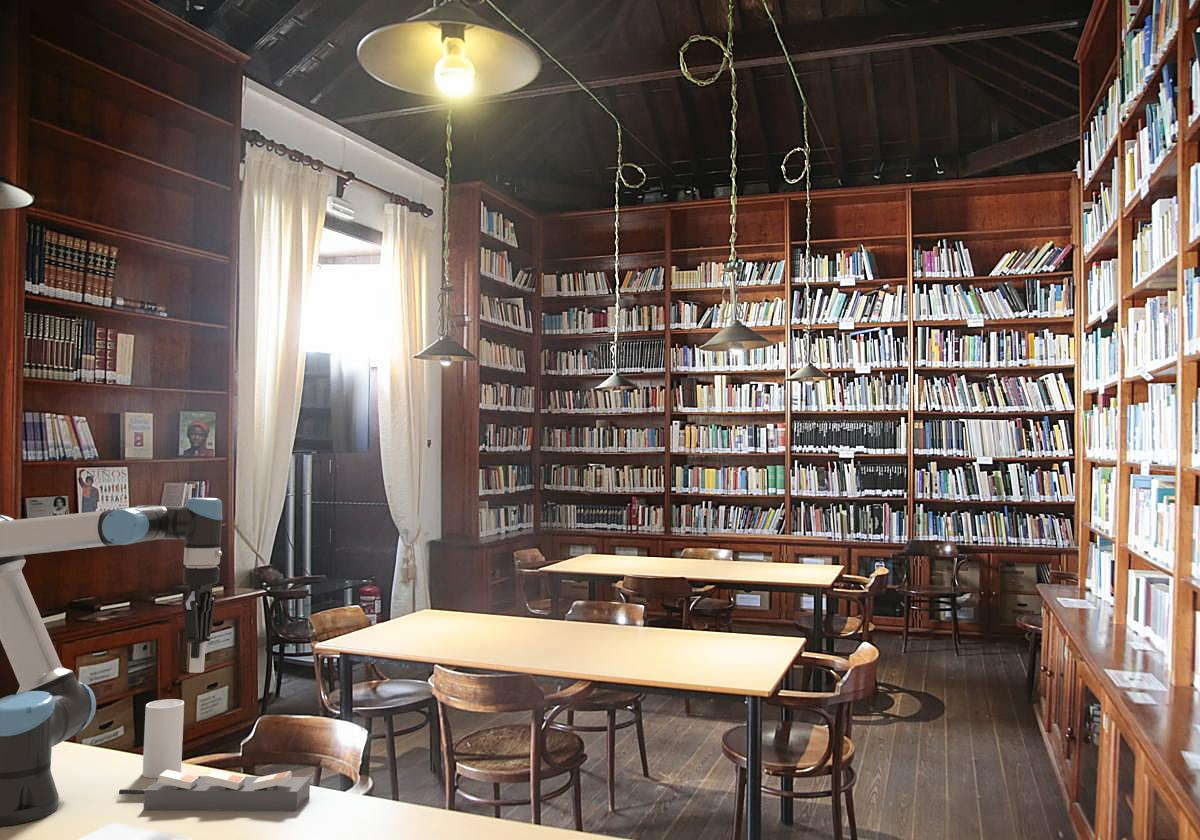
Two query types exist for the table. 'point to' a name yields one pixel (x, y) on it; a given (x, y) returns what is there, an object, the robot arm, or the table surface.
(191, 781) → the block
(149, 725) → the cup
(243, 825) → the table surface
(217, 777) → the block
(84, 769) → the table surface
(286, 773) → the block
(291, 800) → the strip
